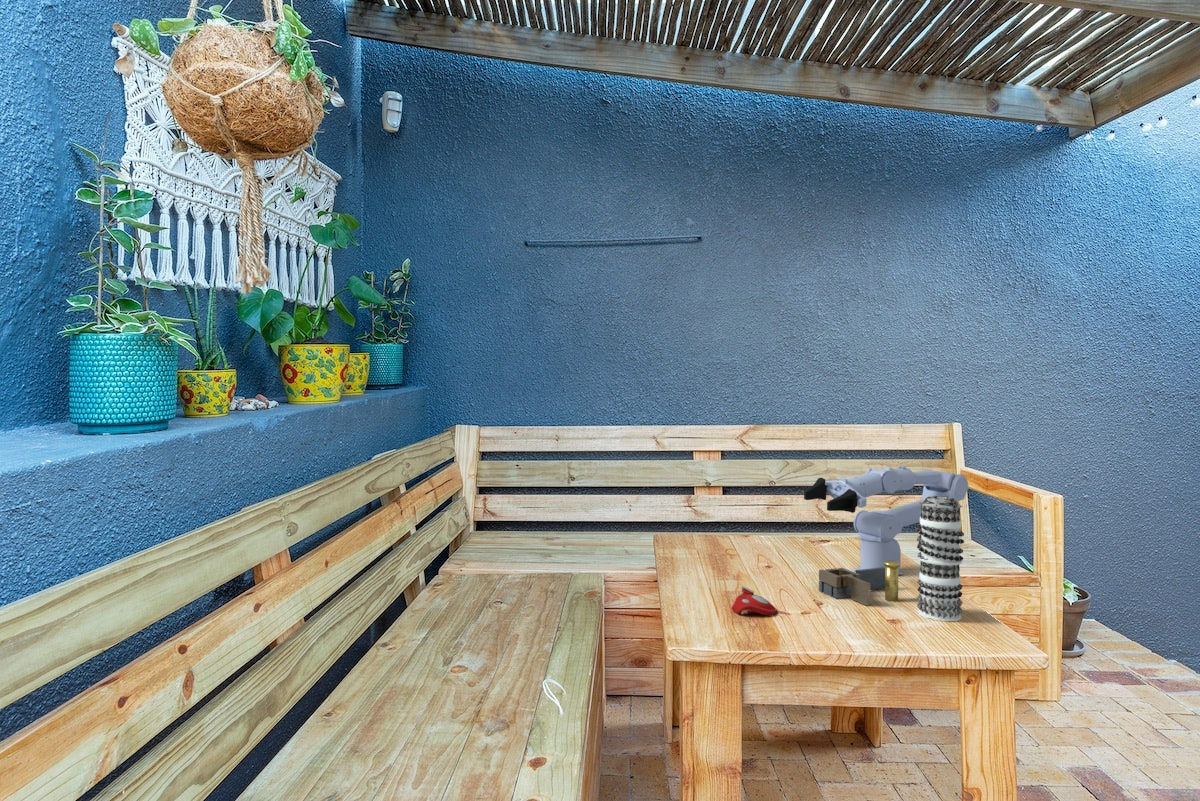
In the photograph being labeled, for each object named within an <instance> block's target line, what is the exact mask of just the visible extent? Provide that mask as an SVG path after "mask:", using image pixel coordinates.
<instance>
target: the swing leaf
mask: <svg viewBox="0 0 1200 801" xmlns="http://www.w3.org/2000/svg"><path fill="white" fill-rule="evenodd" d="M818 581H822V582H824V583H827V584H829V585H831V586H834V587H836V588H838V587H841V586H842V587H849V588H851V597H850V598H851V599H852V600H853V601H856V602H857V603H860V604H862V605H865V606H871V591H870V583H868V582H865V581H863V580H861V575H860V574H858V573H856V571H853V570H849V569H847V568H845V567H838V568H837V567H836V568H826V569H818Z"/></svg>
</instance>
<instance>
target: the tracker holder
mask: <svg viewBox="0 0 1200 801" xmlns="http://www.w3.org/2000/svg"><path fill="white" fill-rule="evenodd" d="M741 592H742V594H739V595H738V596H737V597H736V598H735V601H734V602H733V605H732V607H731V610H732V611H733V612H734V613H735V614H736V615H740V614H741V613H742V612H743V611H752V612H754V613H758V614H760V615H764V616H767V617H768V616H769V617H772V615H773V616H774V614H775V615H776V613H777V609H776V606H774V605H773V604H772V603H771V602H770V601H768V600H767V599H766V598H764V597H762V596H759V595H757V594H755V593H754V592H755V591H753V590H751V588H747V587H746V586H744V585H742V586H741Z"/></svg>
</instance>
